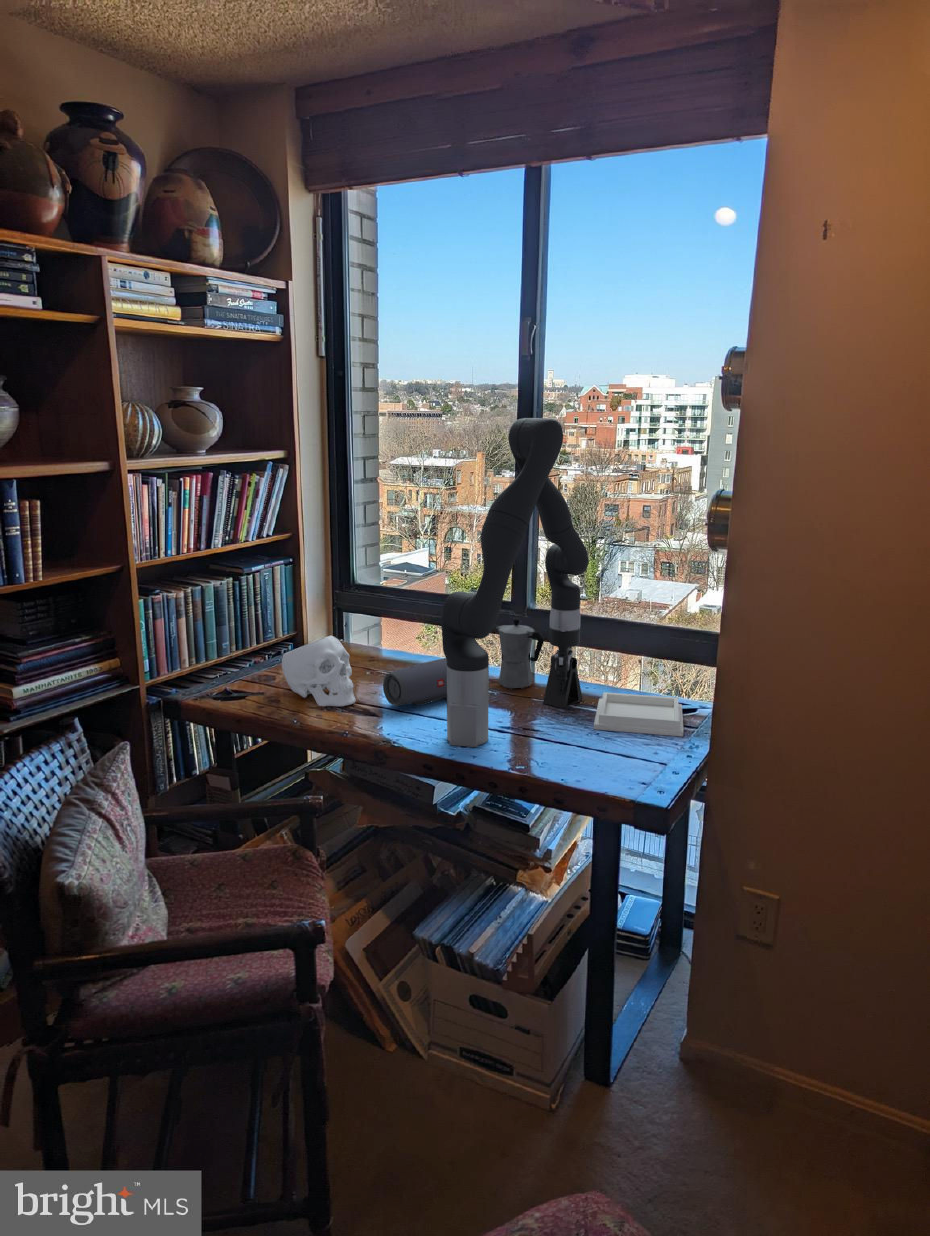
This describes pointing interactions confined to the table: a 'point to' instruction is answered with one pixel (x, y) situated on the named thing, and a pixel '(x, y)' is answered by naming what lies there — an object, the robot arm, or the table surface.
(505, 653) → the coffeepot
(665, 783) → the table surface
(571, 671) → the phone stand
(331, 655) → the skull planter
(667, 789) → the table surface
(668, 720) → the shallow square tray
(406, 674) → the bluetooth speaker
